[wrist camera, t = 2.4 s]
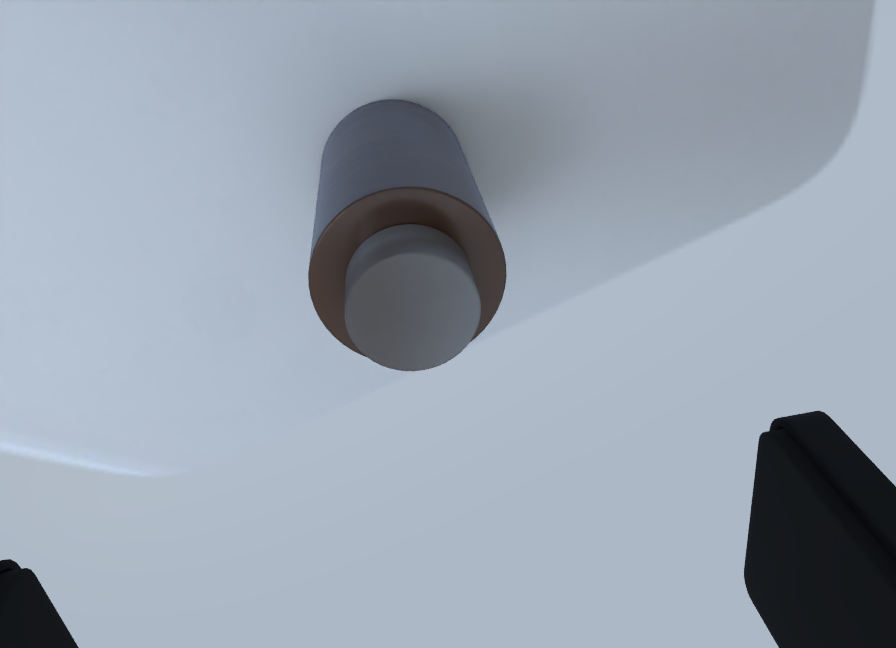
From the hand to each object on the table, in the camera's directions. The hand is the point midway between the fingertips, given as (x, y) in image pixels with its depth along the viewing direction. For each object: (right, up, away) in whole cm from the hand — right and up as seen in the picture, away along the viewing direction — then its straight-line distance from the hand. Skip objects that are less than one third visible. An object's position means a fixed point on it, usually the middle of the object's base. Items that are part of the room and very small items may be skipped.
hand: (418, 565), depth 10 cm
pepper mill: (-1, +8, +13) cm, 15 cm away
